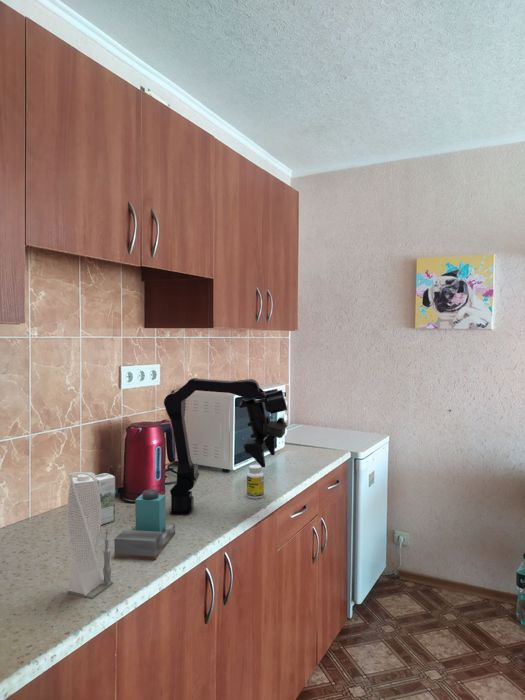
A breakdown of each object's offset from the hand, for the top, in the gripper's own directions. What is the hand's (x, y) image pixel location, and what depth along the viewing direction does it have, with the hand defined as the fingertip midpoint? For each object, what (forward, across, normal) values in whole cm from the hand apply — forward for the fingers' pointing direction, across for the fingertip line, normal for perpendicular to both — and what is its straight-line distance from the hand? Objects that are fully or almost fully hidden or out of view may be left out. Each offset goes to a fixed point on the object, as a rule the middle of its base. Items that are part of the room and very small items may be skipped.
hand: (268, 460), depth 162 cm
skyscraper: (0, -64, +22) cm, 68 cm away
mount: (+4, -40, +24) cm, 47 cm away
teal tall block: (+4, -37, +24) cm, 44 cm away
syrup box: (+2, -31, +46) cm, 56 cm away
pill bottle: (+17, +8, +12) cm, 22 cm away
